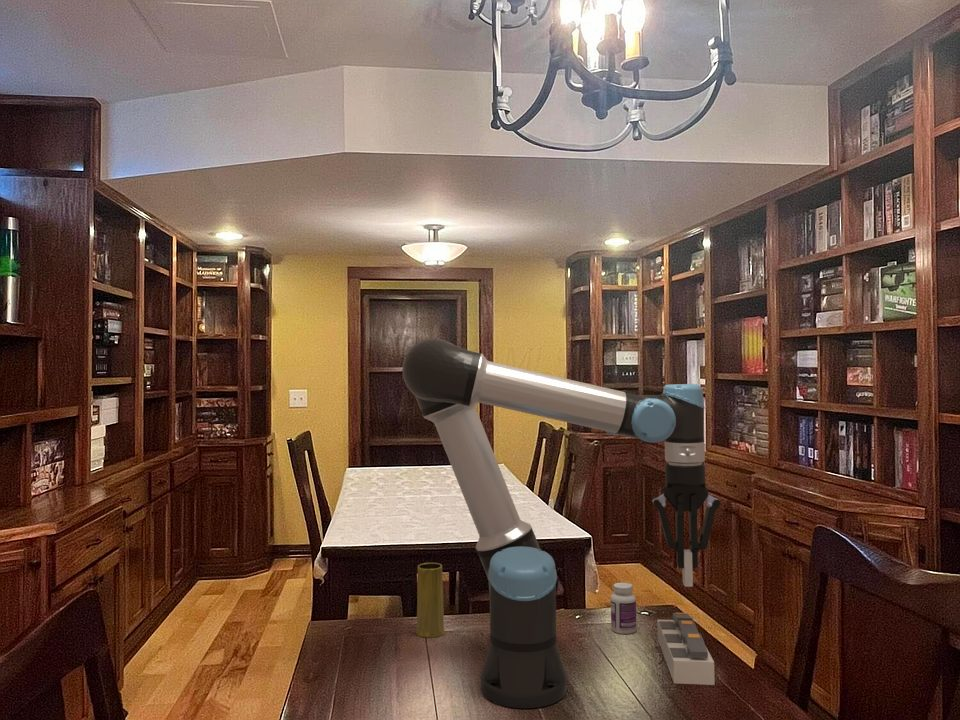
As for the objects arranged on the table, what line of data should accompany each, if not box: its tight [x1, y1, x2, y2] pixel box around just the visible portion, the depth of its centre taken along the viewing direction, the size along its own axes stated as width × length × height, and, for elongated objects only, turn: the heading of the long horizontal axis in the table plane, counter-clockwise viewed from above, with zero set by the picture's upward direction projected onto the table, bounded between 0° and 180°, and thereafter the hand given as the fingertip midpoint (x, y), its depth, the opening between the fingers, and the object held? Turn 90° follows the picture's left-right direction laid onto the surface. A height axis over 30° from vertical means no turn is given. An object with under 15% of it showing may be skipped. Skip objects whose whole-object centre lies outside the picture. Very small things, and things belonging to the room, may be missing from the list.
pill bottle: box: [610, 582, 637, 635], centre depth 154 cm, size 5×5×10 cm
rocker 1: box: [672, 612, 694, 624], centre depth 145 cm, size 3×6×1 cm, turn 174°
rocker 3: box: [684, 633, 709, 658], centre depth 131 cm, size 3×6×1 cm, turn 174°
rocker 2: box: [678, 620, 700, 643], centre depth 138 cm, size 3×6×1 cm, turn 174°
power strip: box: [656, 619, 715, 686], centre depth 138 cm, size 7×21×5 cm, turn 174°
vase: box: [415, 562, 446, 639], centre depth 153 cm, size 6×6×14 cm
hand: (687, 584), depth 140 cm, fingers closed
